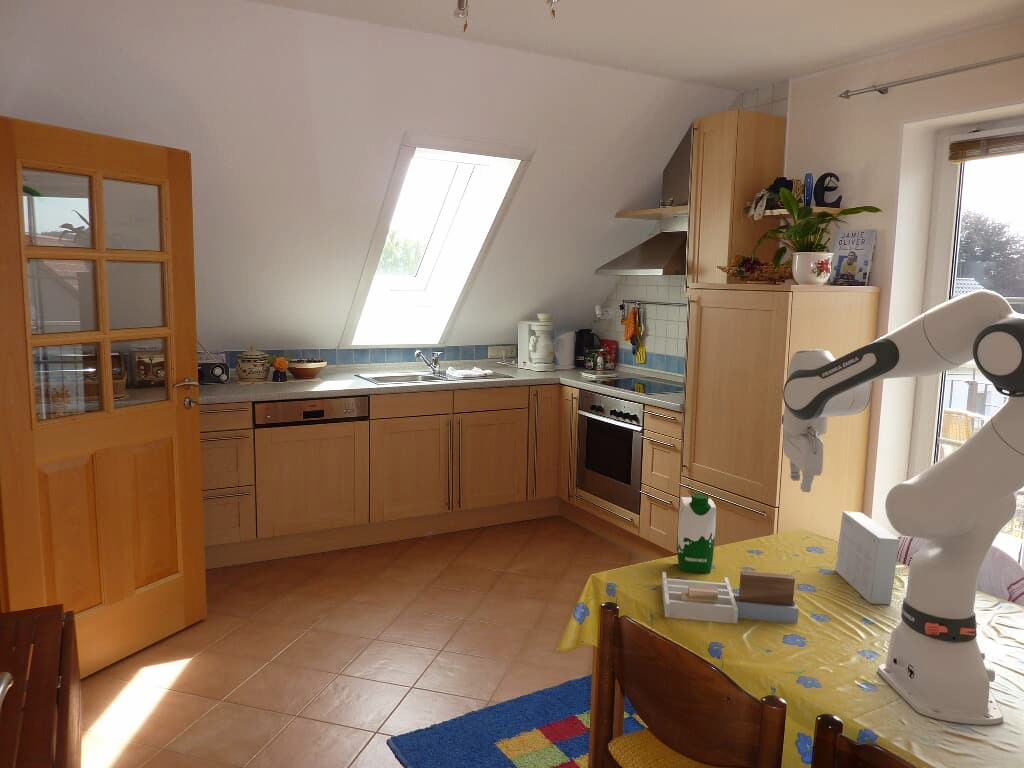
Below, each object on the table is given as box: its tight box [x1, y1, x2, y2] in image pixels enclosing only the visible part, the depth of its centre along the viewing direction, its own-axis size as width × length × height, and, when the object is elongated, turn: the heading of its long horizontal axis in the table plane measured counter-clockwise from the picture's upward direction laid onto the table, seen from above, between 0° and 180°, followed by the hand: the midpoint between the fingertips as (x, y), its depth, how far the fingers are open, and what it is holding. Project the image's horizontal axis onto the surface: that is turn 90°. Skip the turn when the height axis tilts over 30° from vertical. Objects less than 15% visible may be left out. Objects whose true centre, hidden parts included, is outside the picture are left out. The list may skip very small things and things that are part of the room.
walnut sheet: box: [738, 570, 796, 607], centre depth 169 cm, size 2×11×9 cm, turn 81°
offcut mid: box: [681, 592, 715, 604], centre depth 169 cm, size 3×7×2 cm, turn 81°
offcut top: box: [688, 585, 718, 601], centre depth 169 cm, size 3×6×2 cm, turn 81°
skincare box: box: [834, 510, 900, 605], centre depth 188 cm, size 21×6×16 cm, turn 179°
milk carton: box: [676, 493, 717, 574], centre depth 195 cm, size 9×9×20 cm
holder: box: [733, 593, 800, 624], centre depth 170 cm, size 6×13×4 cm, turn 81°
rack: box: [661, 571, 739, 624], centre depth 175 cm, size 18×15×4 cm
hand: (799, 485), depth 171 cm, fingers open, 8 cm apart
